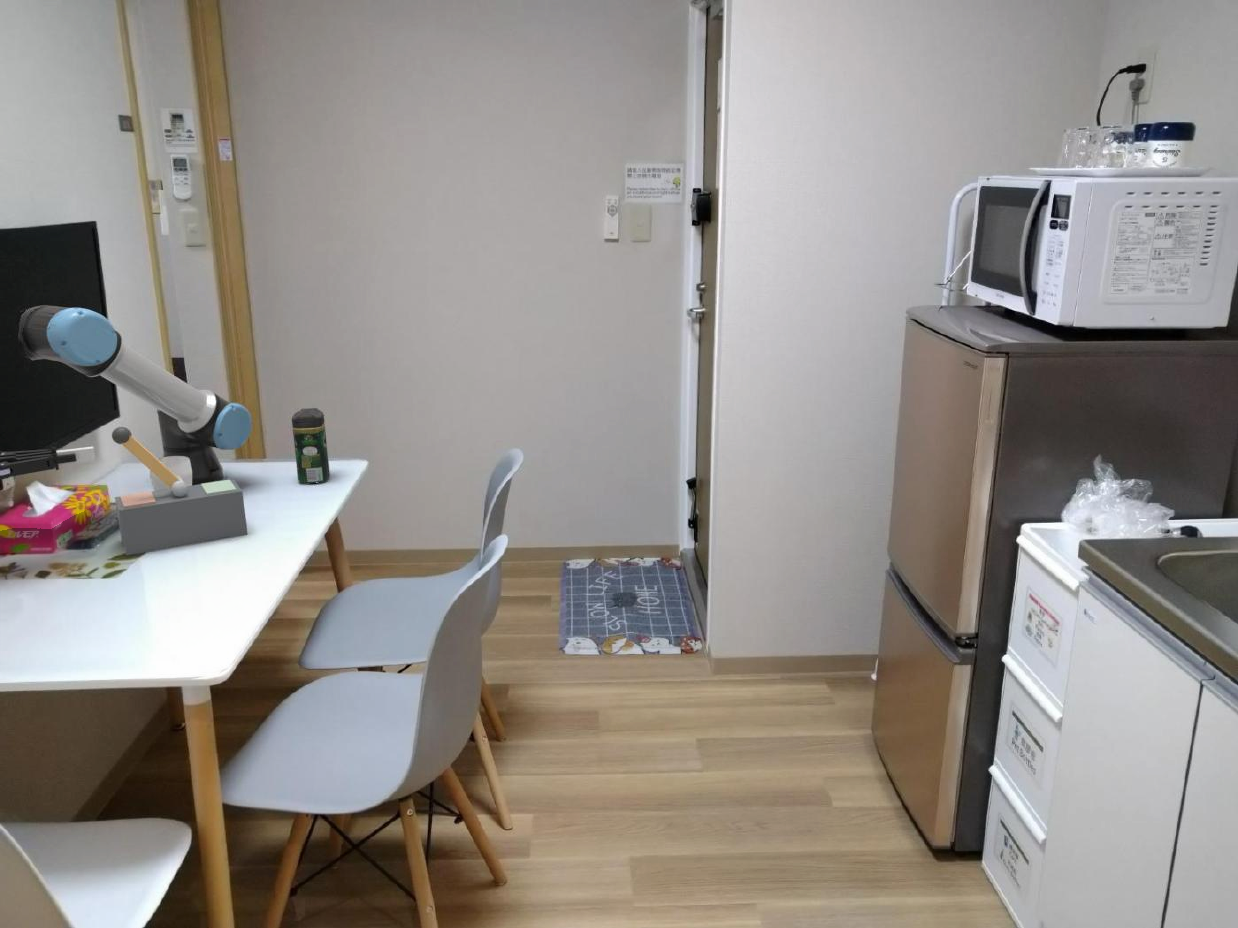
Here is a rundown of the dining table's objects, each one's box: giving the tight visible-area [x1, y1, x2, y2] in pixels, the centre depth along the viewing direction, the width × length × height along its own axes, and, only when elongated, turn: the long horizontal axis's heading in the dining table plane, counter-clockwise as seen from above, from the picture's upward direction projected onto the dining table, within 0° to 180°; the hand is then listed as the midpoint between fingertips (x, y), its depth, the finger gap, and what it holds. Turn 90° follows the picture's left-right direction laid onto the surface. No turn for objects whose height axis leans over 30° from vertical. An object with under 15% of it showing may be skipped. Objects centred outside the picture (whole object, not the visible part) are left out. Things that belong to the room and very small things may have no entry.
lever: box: [111, 426, 188, 497], centre depth 199 cm, size 6×4×19 cm
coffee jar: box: [291, 407, 331, 484], centre depth 245 cm, size 10×8×19 cm
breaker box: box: [114, 479, 248, 557], centre depth 205 cm, size 10×24×10 cm, turn 122°
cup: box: [149, 456, 192, 491], centre depth 223 cm, size 9×9×12 cm
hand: (94, 453), depth 193 cm, fingers closed
